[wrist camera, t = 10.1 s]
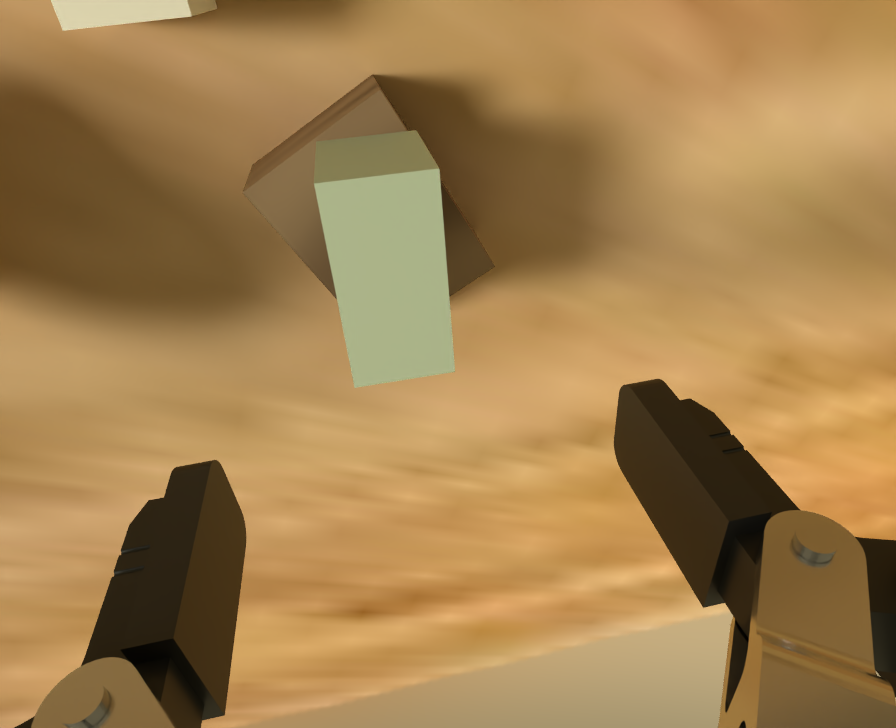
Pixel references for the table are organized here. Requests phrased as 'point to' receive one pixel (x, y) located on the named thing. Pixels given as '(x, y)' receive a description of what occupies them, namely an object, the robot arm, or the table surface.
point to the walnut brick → (294, 197)
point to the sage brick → (386, 254)
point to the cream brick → (124, 11)
